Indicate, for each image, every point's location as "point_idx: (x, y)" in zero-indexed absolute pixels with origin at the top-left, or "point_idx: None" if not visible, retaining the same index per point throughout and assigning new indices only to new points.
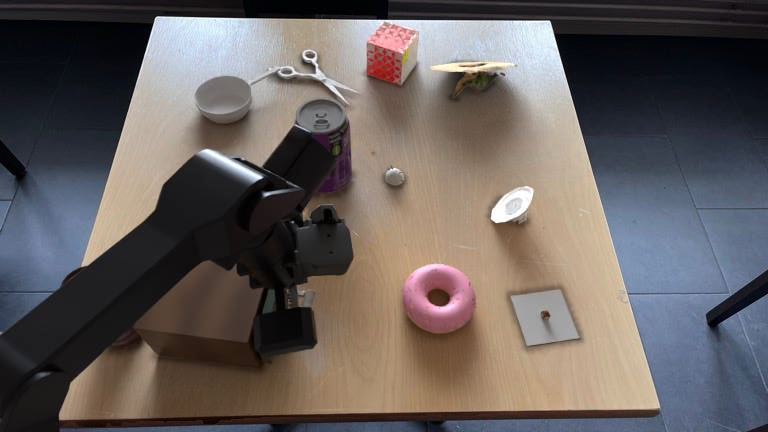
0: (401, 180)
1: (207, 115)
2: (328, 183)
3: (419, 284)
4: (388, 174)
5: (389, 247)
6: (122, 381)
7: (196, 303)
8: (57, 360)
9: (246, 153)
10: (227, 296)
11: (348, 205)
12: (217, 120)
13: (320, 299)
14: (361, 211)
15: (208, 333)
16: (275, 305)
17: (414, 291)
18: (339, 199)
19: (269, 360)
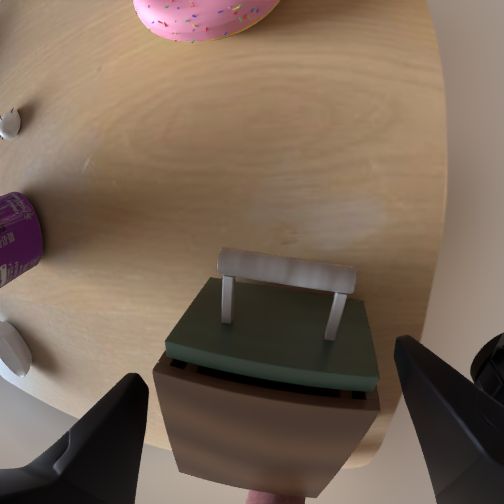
0: (11, 112)
1: (27, 367)
2: (21, 230)
3: (179, 1)
4: (4, 135)
5: (104, 95)
6: None
7: (280, 466)
8: None
9: (40, 329)
10: (264, 439)
11: (50, 186)
12: (27, 356)
13: (220, 215)
14: (54, 162)
15: (343, 454)
16: (273, 350)
17: (197, 6)
18: (45, 203)
19: (365, 313)
